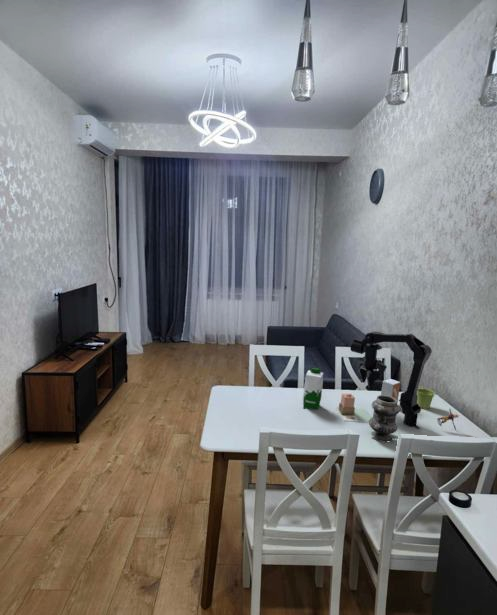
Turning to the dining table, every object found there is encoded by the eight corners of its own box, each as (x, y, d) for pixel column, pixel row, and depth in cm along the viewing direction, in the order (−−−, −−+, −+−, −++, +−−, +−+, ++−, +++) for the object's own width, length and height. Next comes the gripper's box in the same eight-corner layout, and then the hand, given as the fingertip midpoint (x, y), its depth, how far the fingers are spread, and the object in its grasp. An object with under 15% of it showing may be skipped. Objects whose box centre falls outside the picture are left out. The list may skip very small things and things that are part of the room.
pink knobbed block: (353, 407, 204) (355, 396, 203) (343, 407, 204) (345, 396, 203) (350, 403, 209) (351, 392, 208) (340, 403, 209) (342, 392, 208)
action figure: (440, 433, 200) (458, 426, 200) (443, 436, 197) (462, 429, 198) (434, 411, 198) (452, 404, 198) (438, 413, 195) (456, 406, 195)
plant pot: (429, 404, 229) (431, 389, 228) (435, 411, 220) (437, 395, 219) (412, 402, 230) (414, 387, 229) (417, 409, 221) (419, 393, 219)
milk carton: (321, 405, 216) (324, 368, 213) (318, 412, 207) (322, 373, 204) (304, 402, 218) (307, 365, 215) (301, 409, 210) (304, 370, 207)
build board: (377, 424, 198) (377, 421, 198) (344, 422, 197) (344, 420, 197) (365, 410, 214) (365, 408, 214) (334, 409, 213) (335, 406, 213)
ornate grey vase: (395, 446, 178) (400, 406, 175) (366, 439, 182) (371, 400, 179) (396, 434, 189) (401, 396, 186) (368, 428, 193) (373, 391, 190)
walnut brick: (354, 415, 205) (354, 407, 204) (342, 415, 204) (342, 407, 203) (350, 410, 210) (351, 403, 210) (338, 410, 210) (339, 402, 209)
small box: (390, 408, 219) (393, 384, 217) (379, 404, 224) (382, 381, 222) (397, 405, 225) (400, 381, 223) (386, 401, 229) (389, 378, 227)
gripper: (393, 362, 203) (389, 393, 206) (379, 352, 221) (375, 380, 224) (371, 361, 202) (367, 392, 205) (358, 350, 221) (355, 379, 223)
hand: (366, 385), depth 214 cm, fingers open, 9 cm apart
